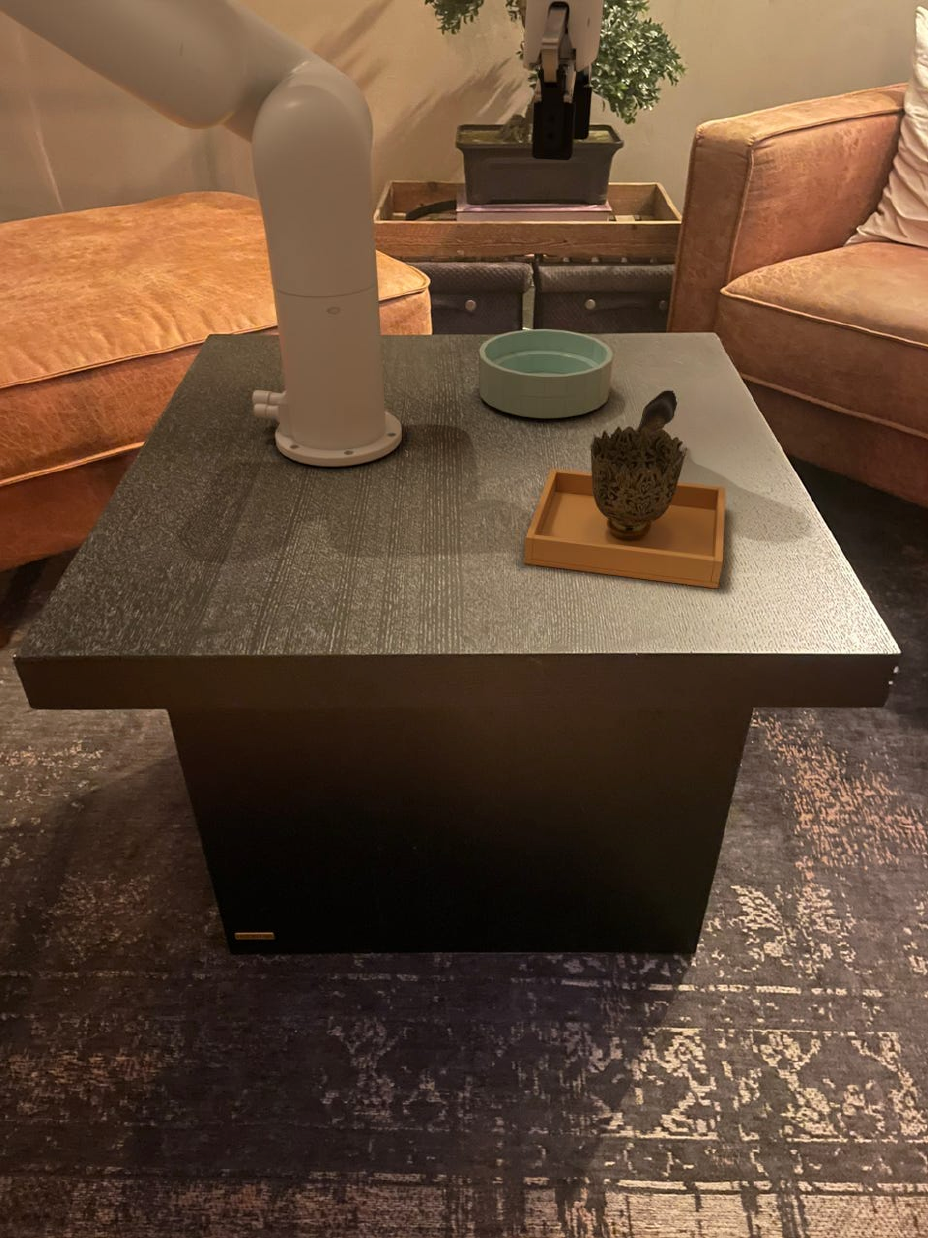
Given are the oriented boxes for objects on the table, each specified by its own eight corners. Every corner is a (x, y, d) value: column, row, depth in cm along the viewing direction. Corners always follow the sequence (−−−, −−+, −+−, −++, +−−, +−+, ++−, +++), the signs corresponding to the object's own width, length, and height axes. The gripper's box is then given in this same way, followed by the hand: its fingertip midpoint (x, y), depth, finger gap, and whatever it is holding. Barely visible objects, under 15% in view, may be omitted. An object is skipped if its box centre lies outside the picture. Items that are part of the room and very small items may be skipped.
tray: (524, 563, 74) (525, 536, 72) (549, 492, 83) (551, 467, 82) (717, 588, 71) (723, 561, 69) (720, 512, 80) (725, 487, 79)
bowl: (465, 415, 97) (465, 369, 94) (494, 366, 108) (495, 324, 105) (599, 428, 94) (603, 381, 92) (615, 377, 106) (619, 334, 103)
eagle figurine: (701, 474, 84) (692, 417, 90) (667, 417, 80) (660, 361, 86) (625, 507, 87) (622, 449, 93) (589, 454, 83) (588, 398, 89)
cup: (575, 512, 80) (582, 426, 75) (658, 507, 80) (670, 422, 75) (594, 558, 74) (603, 468, 69) (684, 552, 74) (698, 463, 69)
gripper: (545, -105, 75) (536, 130, 85) (501, -116, 61) (496, 165, 72) (637, -106, 74) (617, 133, 84) (613, -117, 60) (592, 169, 70)
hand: (561, 148), depth 78 cm, fingers open, 9 cm apart
